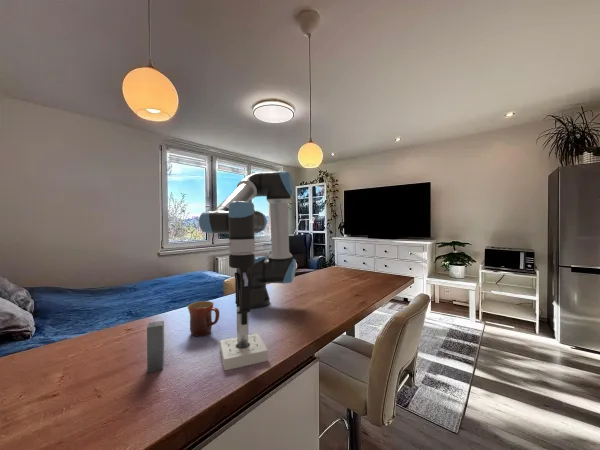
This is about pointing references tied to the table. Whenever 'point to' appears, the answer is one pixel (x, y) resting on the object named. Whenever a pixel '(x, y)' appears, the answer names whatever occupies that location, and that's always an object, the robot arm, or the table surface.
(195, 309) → the mug
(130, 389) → the table surface
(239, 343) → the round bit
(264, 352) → the bore block
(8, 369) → the table surface
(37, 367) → the table surface
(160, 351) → the square bit
